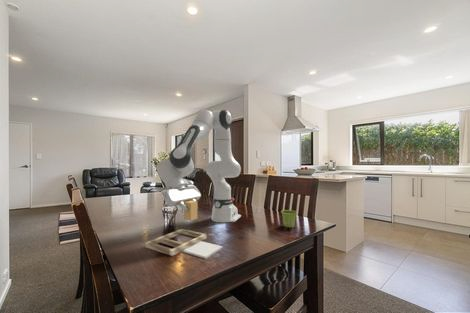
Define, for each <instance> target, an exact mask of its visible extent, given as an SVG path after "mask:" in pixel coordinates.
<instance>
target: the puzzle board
mask: <svg viewBox="0 0 470 313" xmlns="http://www.w3.org/2000/svg"><path fill="white" fill-rule="evenodd" d="M180 235H185V236H190V237H194V238H192V239H191V240H188V241H186V242H180V241H176V240H173V239H172V238H175V237H177V236H180ZM207 236H208V234H207V233H203V232H199V231H198V232H197V231H193V230H189V229H186V228H180V229H177V230H175V231H172V232H170V233H167V234H164V235H162V236H159V237H157V238H154V239H151V240H148V241H145V244H144V248H147V249H150V250H153V251H156V252H159V253H163V254H165V255H168V256H175V255H177V254H178V253H180V252H183V250H185V249H187V248H189V247H191V246H193V245H195V244H197V243H199V242H201V241H204V240H206V239H207ZM161 244H163V245H161ZM164 245H166V246H164ZM168 246H170V247H173V248H170V247H168Z"/></svg>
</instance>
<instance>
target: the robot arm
mask: <svg viewBox="0 0 470 313" xmlns="http://www.w3.org/2000/svg"><path fill="white" fill-rule="evenodd" d="M232 122H233V117H232V113H231V112H230V111H229V110H226V109H222V110H219V109H218V110H213V111H211V110H208V109H201V110H200V111H199V112H198V113H197V115H196V116H195V117H194V119H193V121H192V123H191V125H190V126H189V127H188V129H187V130H186V132H185V133H184V135H183V137H182V138H181V139H180V141H179V143H178V144H177V145H175V147H174V148H173V149H172V150H171V151H170V152H169V157H168V158H163V159H162V160H160V161H159V162H158V163H157V165H156V172H157V174H158V177H159V178H160V180H161V182H163V183H164V185H165V187H164V188H162V189H161V192H160V193H161V194H162V196H163V199H164V202H165V203H166V206H168V207H175V206H179V207H180V208H181V209H183V212H184V211H188V210H189V208H188V206H186V205H184V202H186V201H190V200H191V201H199V200H200V198H201V197H202V194H201V192H200V190H199V189H198V188H197V186H196V185H194V182H193V181H192V180H191V179H190V180H189V179H185V177H187V176H189V175H190V176H191V174H192V173H193V172H194V171H195V163H194V161H193V158H192V153H191V150H192V148H193V146H194V145H195V143H196V141H200V142H201V141H204V140H206V139H207V137H208V136H209V134H210V132H211V130H214V143H213V144H214V150H213V151H214V152H215V154H216V155H218V156H219V158H220V160H212V161H209V162H207V164H206V166H205V173H206V174H207V175H208V177H209V178H210V179H211V181H212V184H213V193H214V194H213V195H214V198H213V206H212V212H211V215H210V218H211V221H212V222H216V223H235V222H236V221H238V219H239V220H240V218H241V217H242V215H241V214H239V213H238V207H237V206H235V205H234V204H233V202H234V201H235V198H234V197H232V187H231V185H230V184H229V183H228V182H227V181H226V179H227V178H229V179H231V178H233V179H234V178H237V177H239V176H240V174H241V172H242V167H241V165H240V163H239V162H238V161H237V160H236V159H235V158H234V155H233V152H232V136H231V134H232V133H231V129H230V126H231V125H232Z"/></svg>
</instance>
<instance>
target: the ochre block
mask: <svg viewBox="0 0 470 313" xmlns="http://www.w3.org/2000/svg"><path fill="white" fill-rule="evenodd" d="M198 201H199V200H197V201H191V200H190V201H186V202H184V205H186V206H188V208H189V210H188V211H184V210H183V220H186V221H189V222H190V221H193V220H194V221H195V220H197V219H198V209H199V208H198V203H199V202H198Z"/></svg>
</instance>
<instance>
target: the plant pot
mask: <svg viewBox="0 0 470 313" xmlns="http://www.w3.org/2000/svg"><path fill="white" fill-rule="evenodd" d="M280 212H281V215H282V221H283V226H284V227H286V228H288V227H289V228H290V229H291V227H292V228H295V224H296V217H297V214H298V212H297V211H296V210H290V209H284V210H281V211H280Z"/></svg>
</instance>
